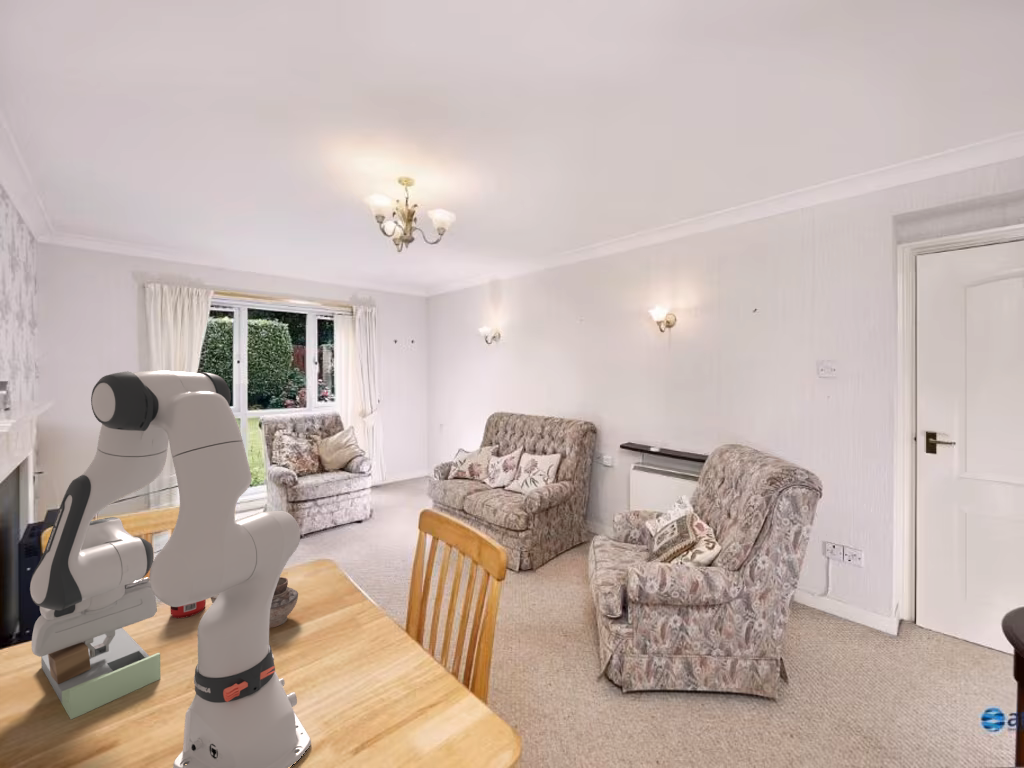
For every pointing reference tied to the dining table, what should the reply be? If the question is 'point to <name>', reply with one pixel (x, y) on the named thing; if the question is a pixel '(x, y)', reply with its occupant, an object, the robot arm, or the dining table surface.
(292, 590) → the pottery
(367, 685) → the dining table surface
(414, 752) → the dining table surface
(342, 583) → the dining table surface
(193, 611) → the canned food
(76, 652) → the walnut block
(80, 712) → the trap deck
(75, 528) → the robot arm
